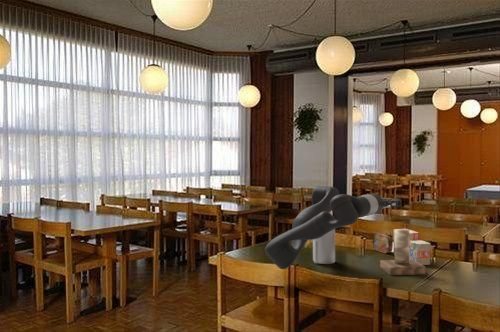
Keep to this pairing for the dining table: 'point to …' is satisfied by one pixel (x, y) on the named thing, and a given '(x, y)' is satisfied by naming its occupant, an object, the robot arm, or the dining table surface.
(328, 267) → the dining table surface
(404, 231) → the dowel
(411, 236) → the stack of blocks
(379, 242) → the tin
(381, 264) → the board
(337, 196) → the robot arm
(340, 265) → the dining table surface
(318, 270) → the dining table surface
